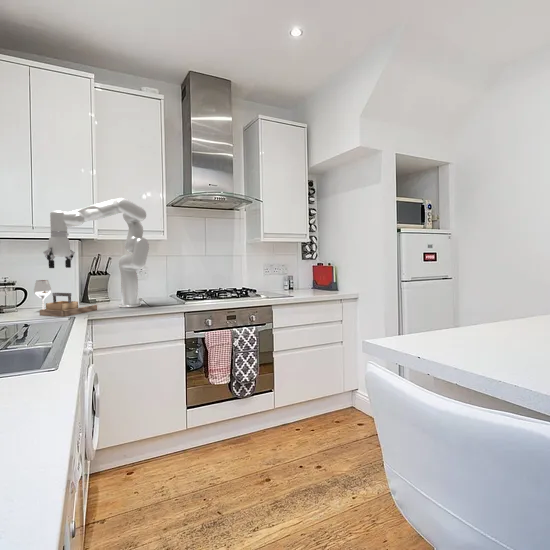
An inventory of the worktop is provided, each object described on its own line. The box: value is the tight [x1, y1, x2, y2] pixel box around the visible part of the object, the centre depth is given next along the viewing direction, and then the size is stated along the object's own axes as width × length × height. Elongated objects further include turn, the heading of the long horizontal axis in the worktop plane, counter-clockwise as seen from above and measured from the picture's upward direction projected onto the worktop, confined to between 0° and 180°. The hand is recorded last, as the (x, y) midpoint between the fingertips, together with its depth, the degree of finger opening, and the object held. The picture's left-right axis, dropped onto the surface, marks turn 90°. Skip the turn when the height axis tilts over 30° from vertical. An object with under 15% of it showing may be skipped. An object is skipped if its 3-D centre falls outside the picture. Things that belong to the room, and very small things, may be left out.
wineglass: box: [33, 279, 52, 309], centre depth 207 cm, size 8×8×18 cm
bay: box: [39, 304, 98, 318], centre depth 200 cm, size 22×16×4 cm
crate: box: [45, 292, 79, 311], centre depth 195 cm, size 10×11×11 cm
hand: (60, 267), depth 195 cm, fingers open, 9 cm apart
